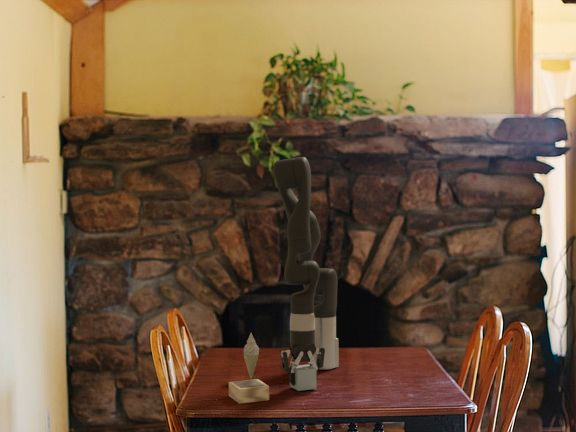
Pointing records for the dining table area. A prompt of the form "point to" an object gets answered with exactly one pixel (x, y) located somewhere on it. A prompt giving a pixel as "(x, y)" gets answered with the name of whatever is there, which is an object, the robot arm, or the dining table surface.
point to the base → (248, 391)
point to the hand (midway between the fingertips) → (303, 383)
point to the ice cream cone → (251, 355)
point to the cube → (304, 378)
